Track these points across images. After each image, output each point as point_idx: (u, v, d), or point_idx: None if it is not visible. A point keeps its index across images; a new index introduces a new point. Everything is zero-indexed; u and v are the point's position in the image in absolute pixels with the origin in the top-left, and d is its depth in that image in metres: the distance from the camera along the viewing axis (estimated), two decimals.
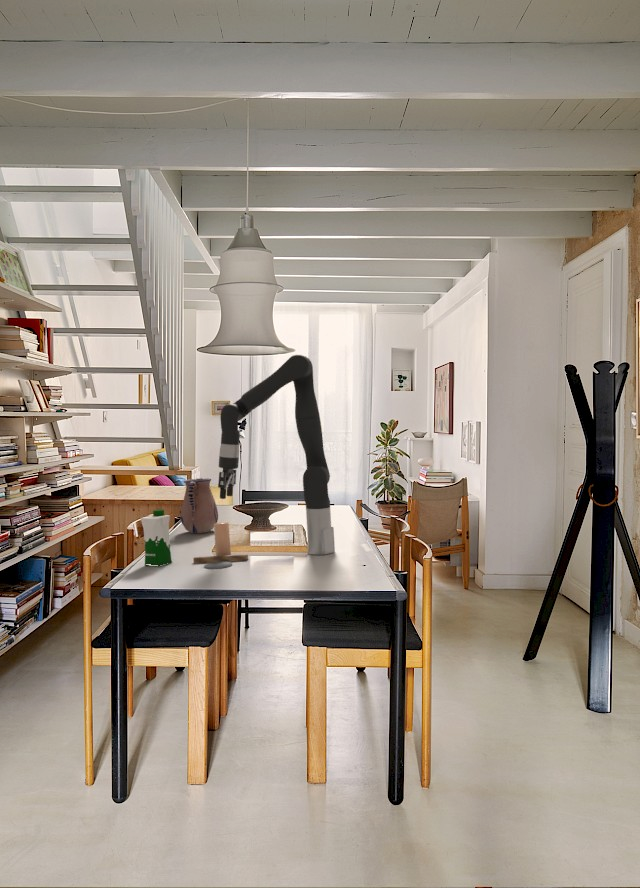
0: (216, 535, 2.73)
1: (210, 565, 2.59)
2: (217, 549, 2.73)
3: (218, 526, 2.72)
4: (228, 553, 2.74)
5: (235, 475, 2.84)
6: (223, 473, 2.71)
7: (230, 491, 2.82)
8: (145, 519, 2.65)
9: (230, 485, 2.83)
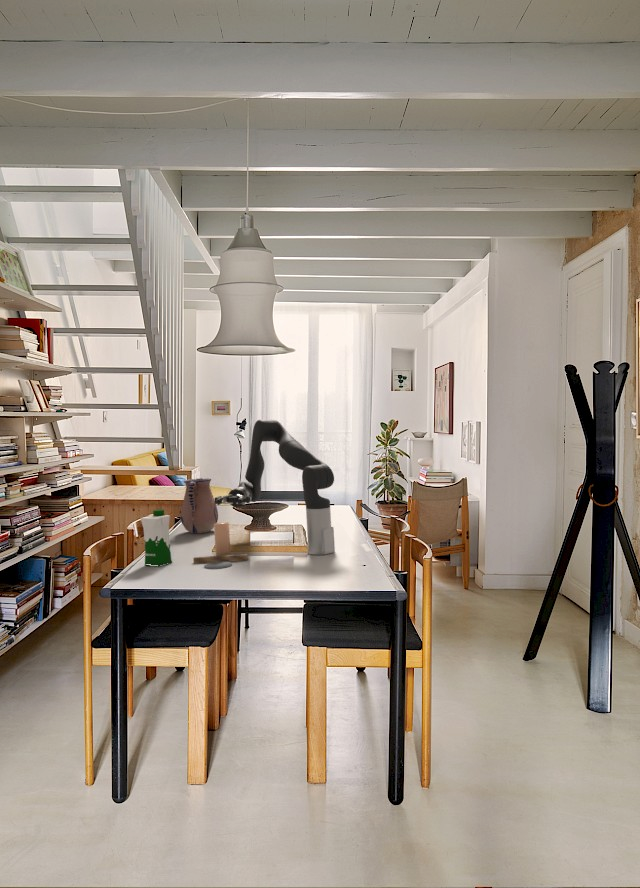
0: (216, 535, 2.73)
1: (210, 565, 2.59)
2: (217, 549, 2.73)
3: (218, 526, 2.72)
4: (228, 553, 2.74)
5: (248, 495, 2.92)
6: None
7: None
8: (145, 519, 2.65)
9: None
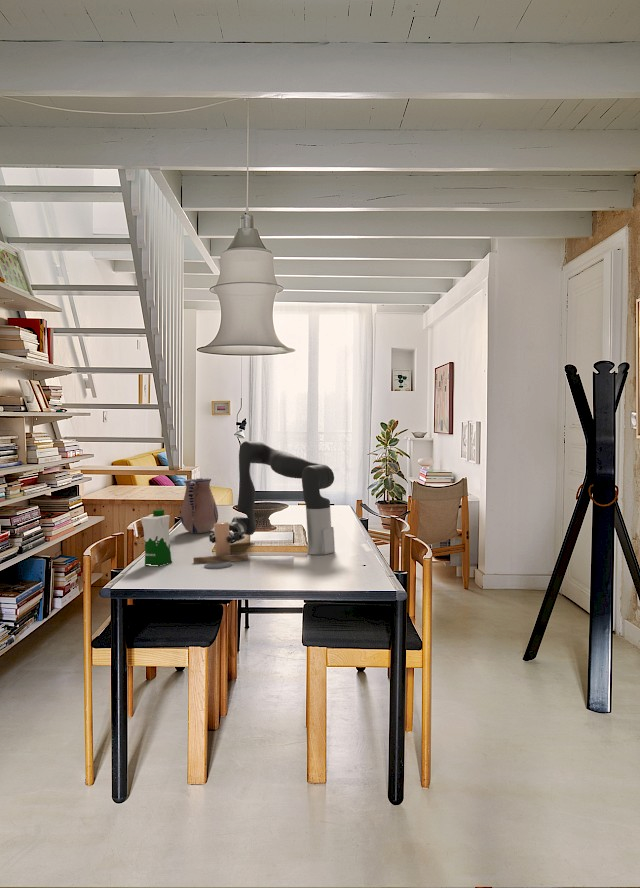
0: (216, 535, 2.73)
1: (210, 565, 2.59)
2: (217, 548, 2.73)
3: (218, 526, 2.72)
4: (228, 553, 2.74)
5: (240, 532, 2.79)
6: None
7: None
8: (145, 519, 2.65)
9: None
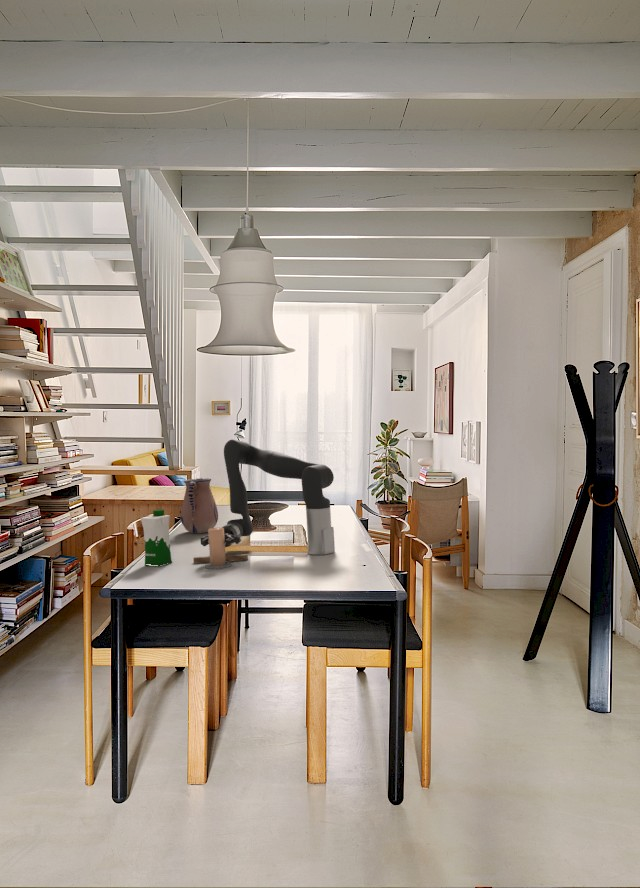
0: (210, 541, 2.57)
1: (210, 565, 2.59)
2: (211, 556, 2.58)
3: (212, 532, 2.56)
4: (223, 560, 2.58)
5: (238, 535, 2.64)
6: None
7: None
8: (145, 519, 2.65)
9: None
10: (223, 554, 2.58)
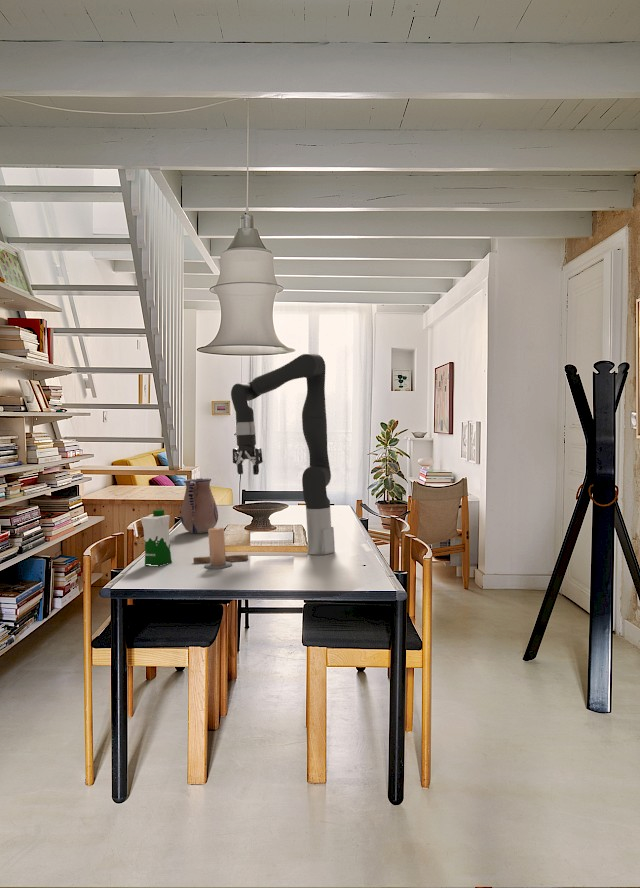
0: (210, 541, 2.57)
1: None
2: (211, 556, 2.58)
3: (212, 532, 2.57)
4: (223, 560, 2.58)
5: (256, 454, 2.81)
6: None
7: None
8: (145, 519, 2.65)
9: None
10: (223, 554, 2.58)
